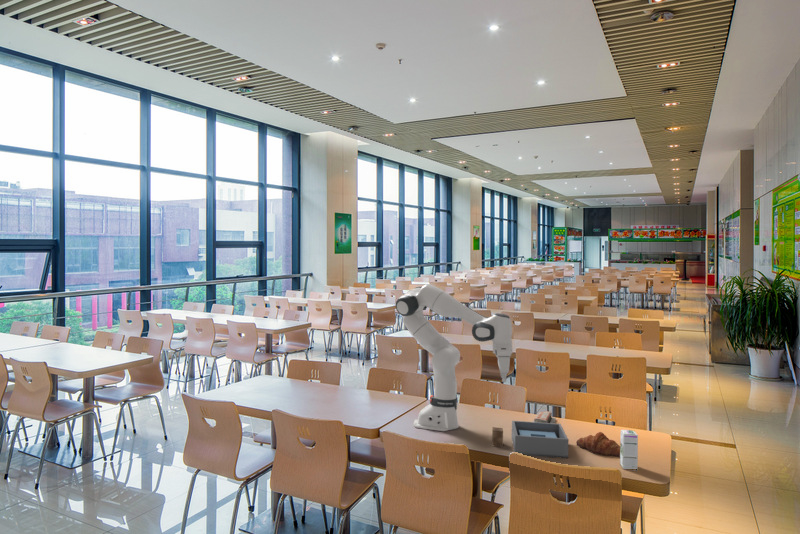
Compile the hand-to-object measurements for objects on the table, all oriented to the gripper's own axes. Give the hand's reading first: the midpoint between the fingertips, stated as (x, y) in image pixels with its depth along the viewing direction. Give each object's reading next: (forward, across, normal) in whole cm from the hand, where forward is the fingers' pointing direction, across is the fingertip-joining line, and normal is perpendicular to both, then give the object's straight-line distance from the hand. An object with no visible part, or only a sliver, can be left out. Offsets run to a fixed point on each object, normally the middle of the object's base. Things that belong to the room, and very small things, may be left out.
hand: (503, 379), depth 246 cm
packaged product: (+30, -33, +22) cm, 50 cm away
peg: (+28, +4, -4) cm, 29 cm away
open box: (+29, +5, +14) cm, 33 cm away
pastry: (+31, +3, +41) cm, 52 cm away
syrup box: (+31, +21, +48) cm, 61 cm away
